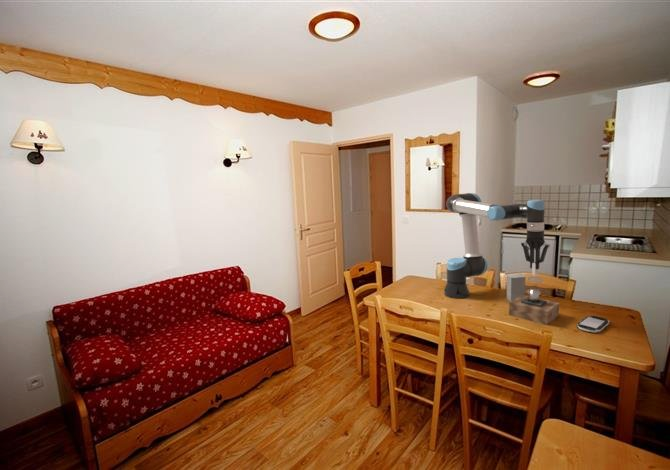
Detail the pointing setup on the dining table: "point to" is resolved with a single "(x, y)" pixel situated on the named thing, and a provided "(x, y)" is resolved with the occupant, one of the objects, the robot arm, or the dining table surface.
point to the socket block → (534, 310)
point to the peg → (534, 295)
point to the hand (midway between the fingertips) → (534, 274)
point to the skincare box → (515, 286)
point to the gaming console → (592, 324)
